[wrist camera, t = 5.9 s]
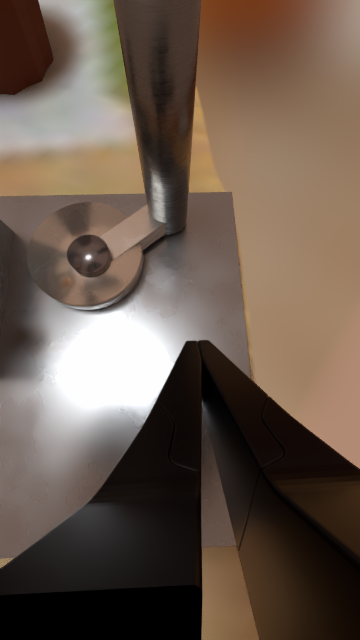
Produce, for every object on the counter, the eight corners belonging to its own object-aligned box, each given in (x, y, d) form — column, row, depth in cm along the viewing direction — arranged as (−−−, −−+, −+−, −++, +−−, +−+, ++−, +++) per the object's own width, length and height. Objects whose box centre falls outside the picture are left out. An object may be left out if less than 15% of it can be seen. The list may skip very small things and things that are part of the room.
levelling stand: (260, 530, 14) (369, 725, 6) (-41, 545, 14) (-342, 777, 6) (228, 203, 19) (265, 79, 11) (9, 207, 19) (-112, 82, 11)
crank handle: (207, 234, 17) (276, -88, 5) (77, 332, 15) (-251, 174, 4) (145, 169, 18) (89, -209, 6) (17, 253, 16) (-374, -60, 5)
